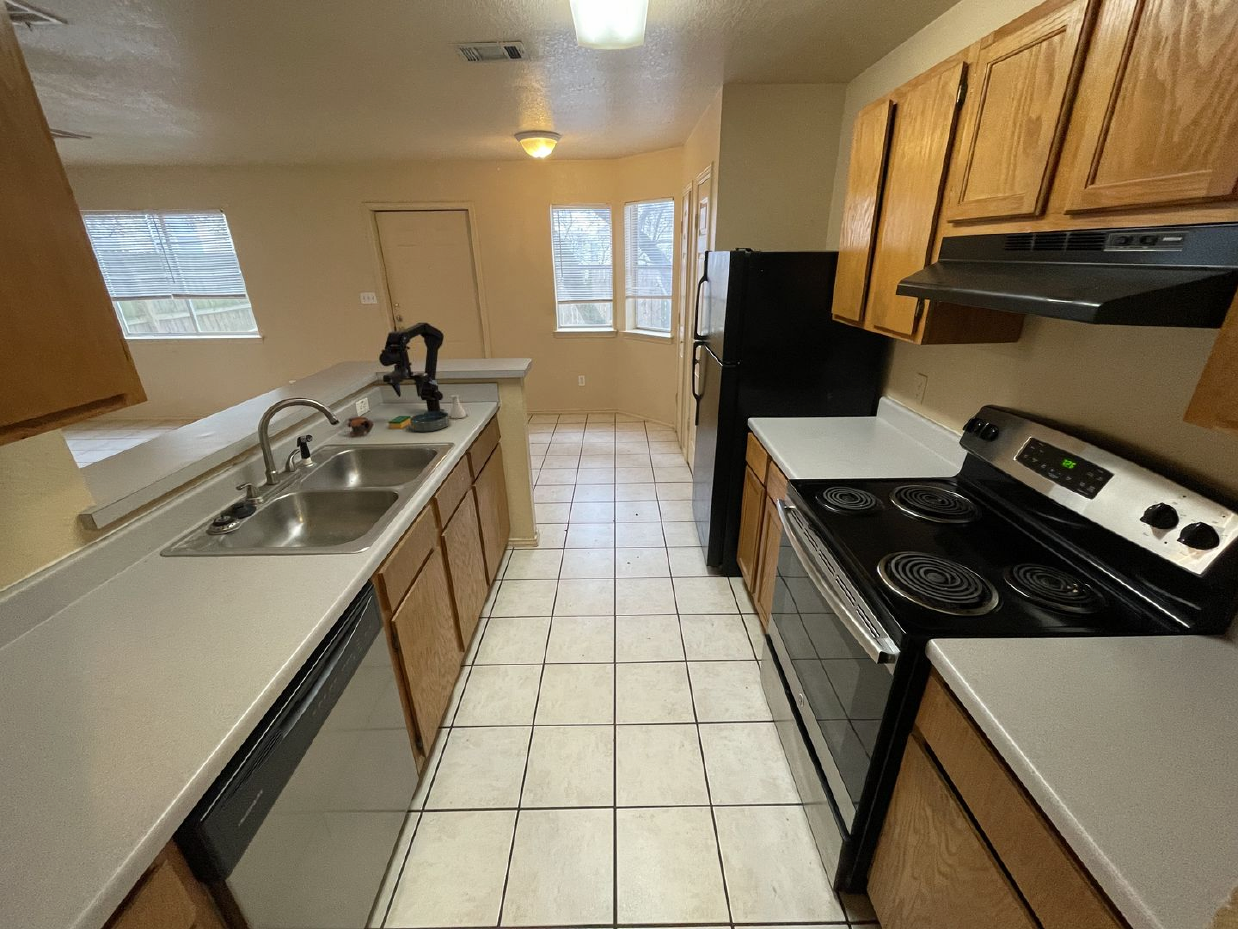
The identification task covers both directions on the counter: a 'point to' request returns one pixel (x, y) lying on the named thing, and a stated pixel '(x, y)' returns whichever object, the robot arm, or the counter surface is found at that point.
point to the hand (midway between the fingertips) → (409, 396)
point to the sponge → (399, 422)
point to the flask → (457, 408)
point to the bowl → (430, 421)
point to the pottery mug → (360, 426)
